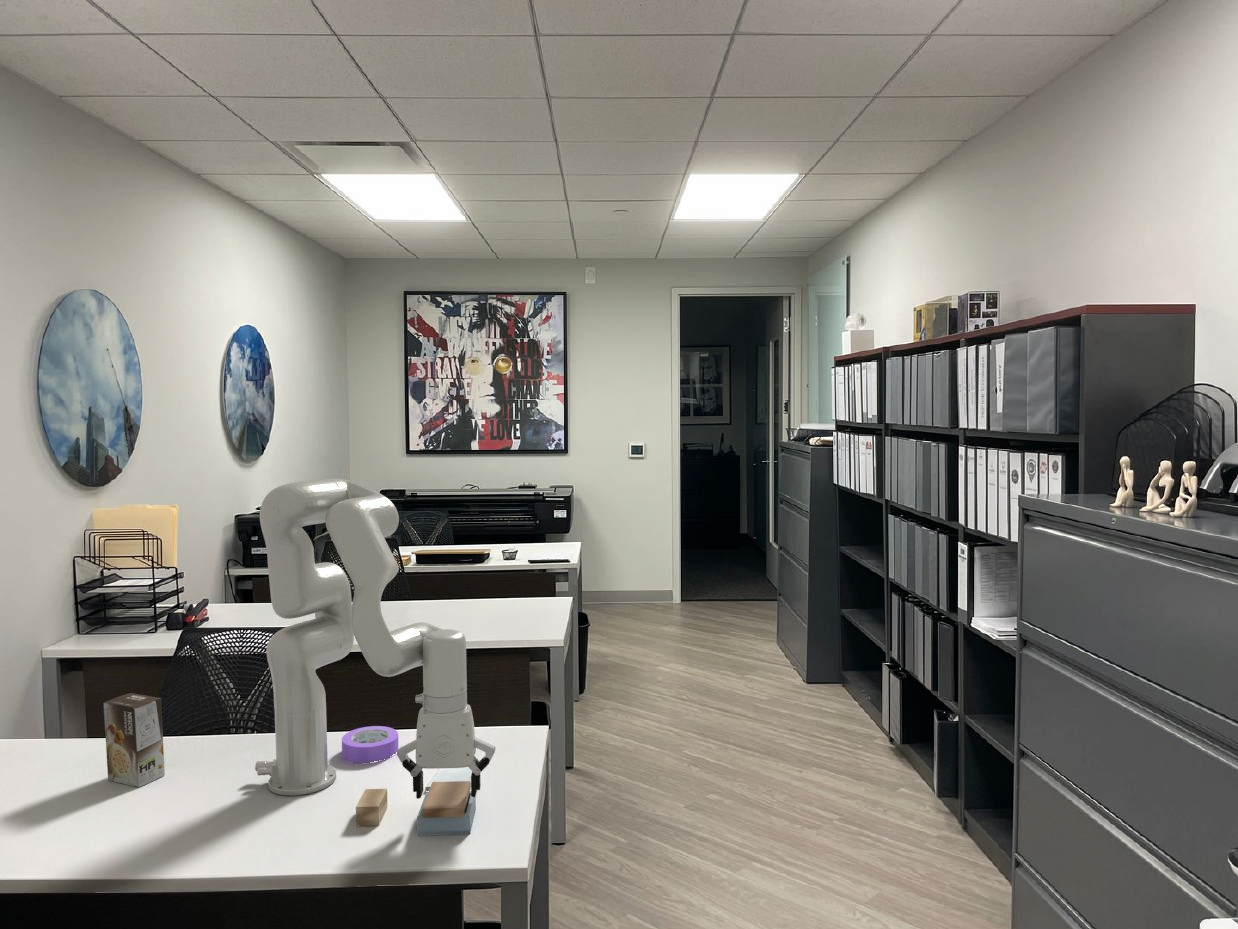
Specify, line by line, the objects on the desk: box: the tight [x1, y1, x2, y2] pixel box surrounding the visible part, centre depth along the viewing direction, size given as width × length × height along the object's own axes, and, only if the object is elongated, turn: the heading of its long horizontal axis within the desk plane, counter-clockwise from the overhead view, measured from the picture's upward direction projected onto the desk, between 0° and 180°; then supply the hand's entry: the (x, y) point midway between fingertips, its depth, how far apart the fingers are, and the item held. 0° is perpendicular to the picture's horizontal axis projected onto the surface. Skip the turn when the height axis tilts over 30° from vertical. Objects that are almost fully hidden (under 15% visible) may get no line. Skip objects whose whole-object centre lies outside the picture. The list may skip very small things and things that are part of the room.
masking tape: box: [341, 725, 399, 765], centre depth 185 cm, size 12×12×4 cm
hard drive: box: [424, 767, 472, 792], centre depth 172 cm, size 2×8×12 cm
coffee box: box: [103, 692, 166, 788], centre depth 172 cm, size 9×6×16 cm
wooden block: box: [355, 788, 388, 827], centre depth 156 cm, size 4×7×4 cm, turn 3°
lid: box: [422, 781, 471, 818], centre depth 154 cm, size 7×10×2 cm, turn 3°
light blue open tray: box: [416, 790, 477, 836], centre depth 154 cm, size 9×9×4 cm
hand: (447, 794), depth 154 cm, fingers open, 9 cm apart
